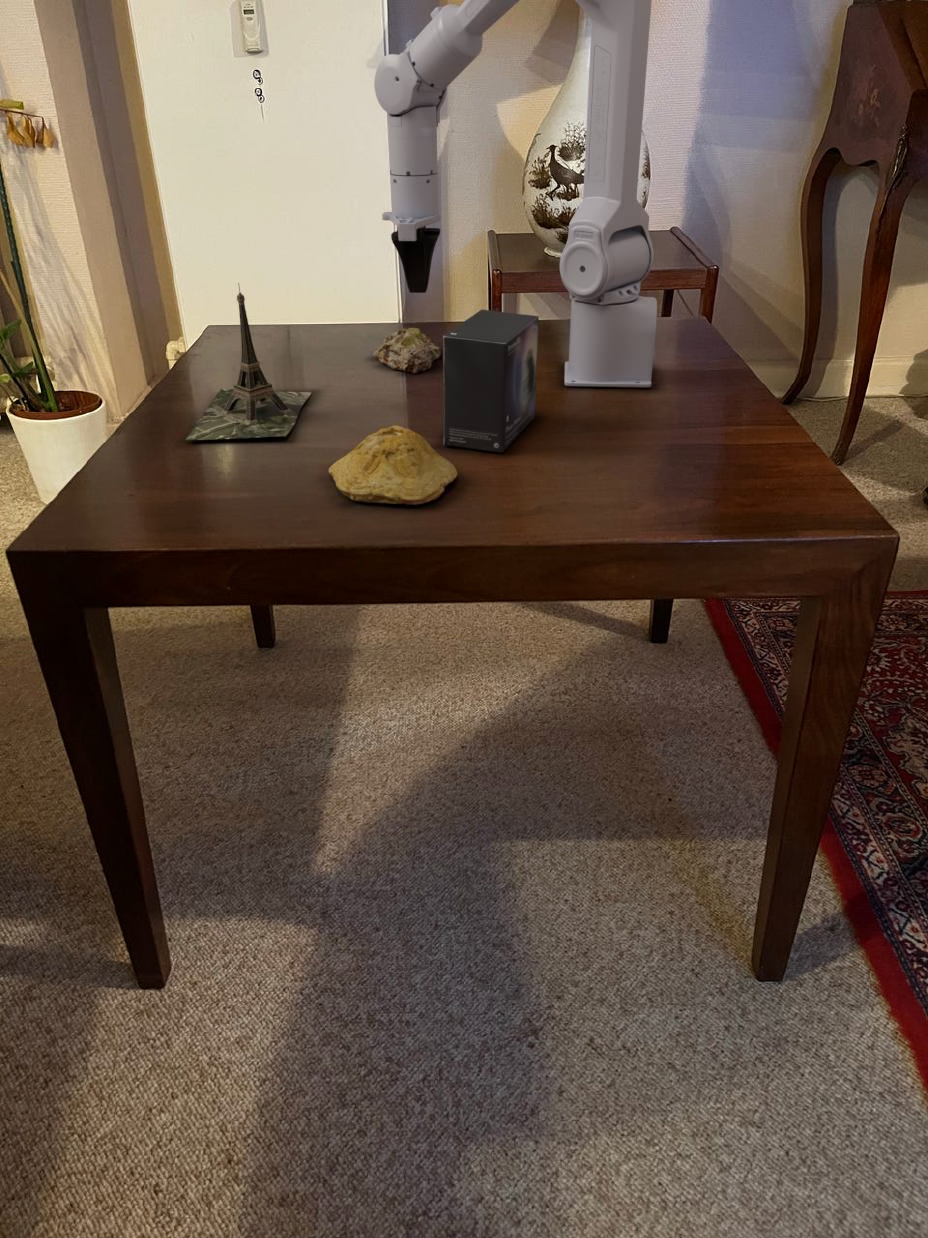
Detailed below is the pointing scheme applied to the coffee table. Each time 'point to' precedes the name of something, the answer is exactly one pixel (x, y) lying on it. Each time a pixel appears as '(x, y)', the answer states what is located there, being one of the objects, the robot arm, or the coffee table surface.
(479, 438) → the small box
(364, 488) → the fossil
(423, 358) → the mineral rock
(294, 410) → the eiffel tower figurine
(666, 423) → the coffee table surface
